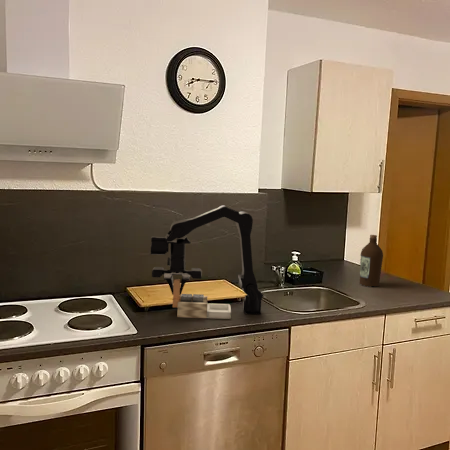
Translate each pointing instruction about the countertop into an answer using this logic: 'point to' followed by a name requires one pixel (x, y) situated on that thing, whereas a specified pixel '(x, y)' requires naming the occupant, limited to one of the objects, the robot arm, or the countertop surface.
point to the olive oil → (371, 263)
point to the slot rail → (192, 309)
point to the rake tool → (176, 292)
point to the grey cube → (186, 298)
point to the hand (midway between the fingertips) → (176, 294)
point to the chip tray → (219, 311)
